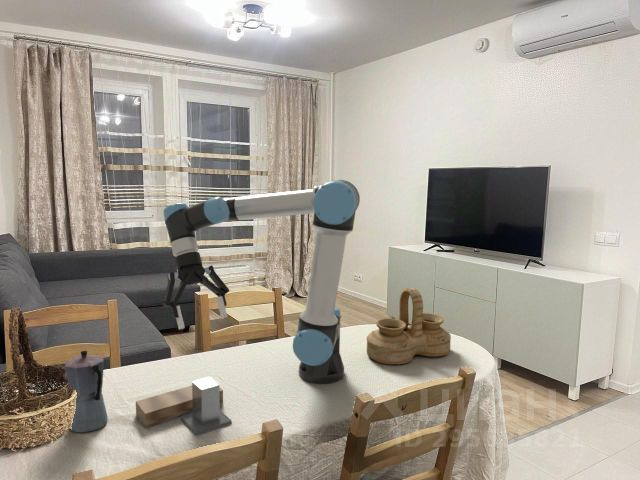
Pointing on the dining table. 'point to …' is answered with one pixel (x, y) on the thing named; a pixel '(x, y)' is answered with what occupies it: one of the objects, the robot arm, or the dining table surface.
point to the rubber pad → (200, 429)
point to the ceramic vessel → (408, 334)
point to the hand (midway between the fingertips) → (203, 323)
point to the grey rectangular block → (206, 400)
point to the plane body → (166, 406)
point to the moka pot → (87, 391)
